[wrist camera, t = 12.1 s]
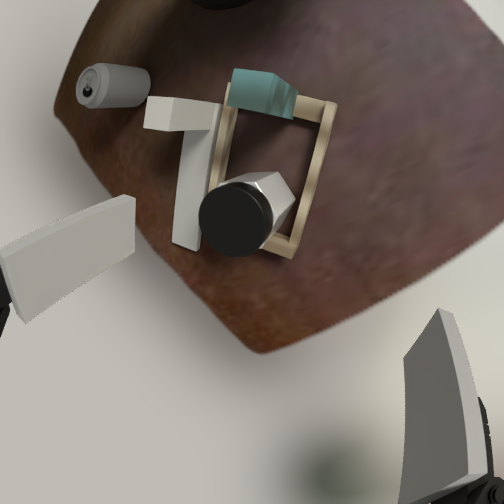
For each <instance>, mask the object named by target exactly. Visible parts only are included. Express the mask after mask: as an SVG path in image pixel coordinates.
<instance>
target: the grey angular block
mask: <svg viewBox="0 0 504 504" xmlns="http://www.w3.org/2000/svg"><path fill="white" fill-rule="evenodd" d="M222 108H223V104H217V103H211V102H204V101H197V100H190V99H182V98H172V97H156V96H148V99H147V106H146V112H145V119H144V126H143V128H149V129H156V130H163V131H185V132H184V139H183V145H182V152H181V159H180V167H179V175H178V183H177V192H176V201H175V211H174V222H173V235H172V242H173V243H176V244H178V245H181V246H183V247H186V248H188V249H191V250H193V251H198V250H199V249H200V242H201V234H202V232H201V229H200V226H198V222H199V220H198V213H199V208H200V205H201V202H202V200H203V199H204V197H205V196H206V195H207V192H208V186H209V180H210V173H211V167H212V162H213V156H214V150H215V144H216V139H217V134H218V128H219V123H220V118H221V113H222Z"/></svg>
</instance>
